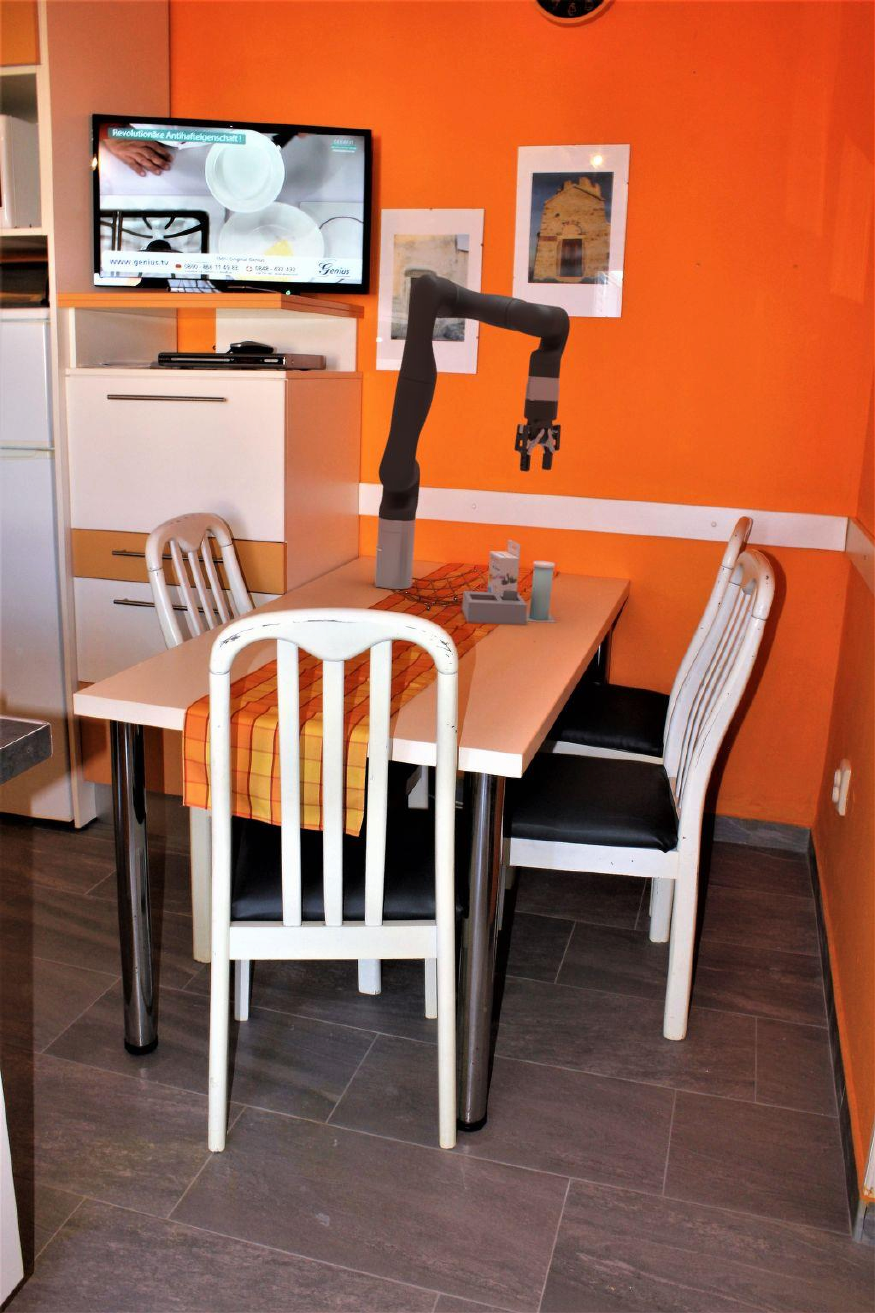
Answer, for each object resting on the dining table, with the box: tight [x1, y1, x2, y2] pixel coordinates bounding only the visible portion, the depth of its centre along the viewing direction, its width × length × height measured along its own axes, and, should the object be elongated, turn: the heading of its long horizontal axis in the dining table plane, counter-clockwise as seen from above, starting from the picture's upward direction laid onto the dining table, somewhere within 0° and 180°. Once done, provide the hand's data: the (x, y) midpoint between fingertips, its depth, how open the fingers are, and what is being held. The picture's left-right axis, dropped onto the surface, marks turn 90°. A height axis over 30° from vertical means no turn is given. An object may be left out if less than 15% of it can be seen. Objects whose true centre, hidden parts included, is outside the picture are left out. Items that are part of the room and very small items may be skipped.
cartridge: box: [528, 560, 556, 620], centre depth 254 cm, size 5×5×13 cm
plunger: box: [503, 590, 519, 601], centre depth 253 cm, size 3×3×6 cm
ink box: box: [486, 539, 521, 593], centre depth 272 cm, size 8×5×15 cm, turn 17°
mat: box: [526, 613, 556, 624], centre depth 256 cm, size 7×7×1 cm
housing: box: [461, 590, 528, 626], centre depth 253 cm, size 13×12×5 cm
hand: (535, 470), depth 256 cm, fingers open, 8 cm apart
